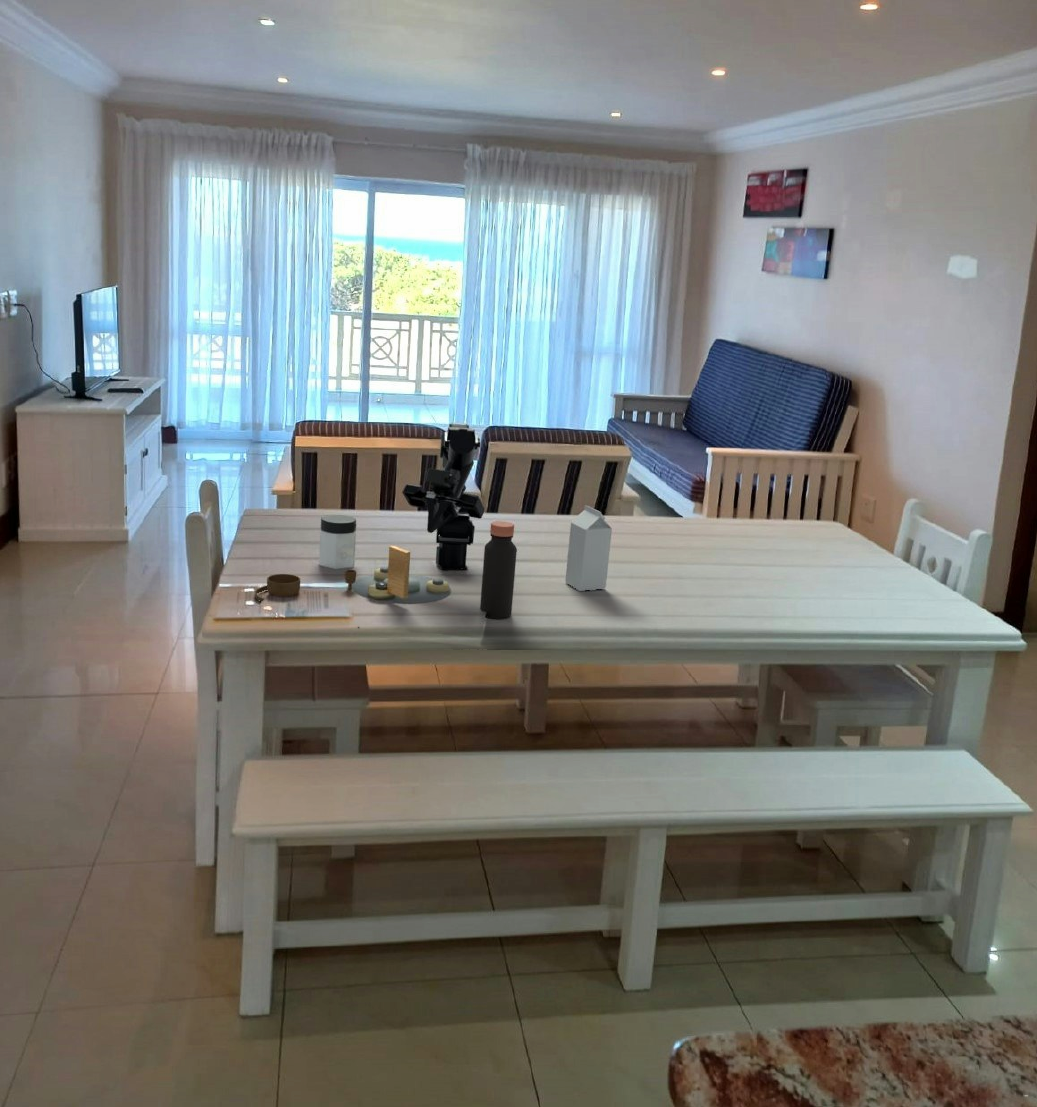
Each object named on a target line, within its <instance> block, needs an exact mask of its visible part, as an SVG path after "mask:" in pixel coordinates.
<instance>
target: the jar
mask: <svg viewBox="0 0 1037 1107" xmlns="http://www.w3.org/2000/svg"><path fill="white" fill-rule="evenodd" d="M356 533H357V519H356V517H353V516H350V515H343V514H329V515H324V516H322V517H321V519H320V532H319V557H318V558H319V560H318V564H319V566H322V567H326V568H330V569H333V570H334V569H335V570H336V569H338V570H339V569H348V568H355V562H356V560H355V559H356V558H355V557H356V538H357V534H356Z"/></svg>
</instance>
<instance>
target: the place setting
mask: <svg viewBox="0 0 1037 1107" xmlns="http://www.w3.org/2000/svg"><path fill="white" fill-rule="evenodd" d="M356 580H357V571H356V570H354V569H346V570H344V581H345V583H346V584H348V585H347V586H348V587H347V590H349V591H353V590H352V584H353V583H354V582H355V581H356ZM300 589H301V578H300V577H299V576H297V575H294V574H288V573H277V574H272V575H269V576H267V578H266V585H263V586H260V587H258V588H257V589H255V591H254V596H255V599H256V600H257V599H258V600H260V601H262V602H263V601H264V600H265V599H266V598H264V597H262V596H260V595H259V596H258V595H257V593H259V592H262V591H264V590H268V594H269V595H271V596H275V597H279V598H280V597H281V598H282V597H283V598H287V597H288V598H289V597H293V596H296V595H298V594H299V593H300ZM258 600H257V601H258ZM260 601H259V602H260Z"/></svg>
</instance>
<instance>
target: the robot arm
mask: <svg viewBox="0 0 1037 1107" xmlns="http://www.w3.org/2000/svg"><path fill="white" fill-rule="evenodd" d="M475 431H476V430H475V428H472V427H471V428H470V425H469V424H468V423H465V422H464V423H463V422H462V423H461V422H451V423H449V424H448V427H447V430H446V431H444V433H443V434H442V435H441V437H440V438H441V439H440V447H439V448H440V449H439V450H440V451H439V452H440V453H439V458H440V459H442V463H441V464H442V468H443V469H437V468H433V467H432V468H431V467H428V469H427V473H426V476H425V480H424V482H425V483H428V484H430V486H429V488H430V490H431V491H429V490H428V491H425V488H424V486H423V485H420V484H413V483H408V484H405V485H404V487H403V489H402V491H401V492H402V494H403V496H404V498H405V500H406V501H407V503H408V505H409V506H411V507H415V508H421V509H423V508H424V507H425V508H427V527H426V528H427V530H426V531H427V533H429V534H432V533H434V532H435V531H436V536H435V541H436V542H435V543H436V544H438V546H436V552H435V553H436V554H435V563H436V565H437V566H438V567H439V568H440V569H441V570H442V571H444V570H445V571H446V570H447V571H448V570H449V571H450V570H452V571H453V570H457V571H458V570H469V569H468V568H469V567H468V566H467V564H466V563H467V554H468V552H467V550H468V546H471V544H474V538H475V530H476V527H475V525H474V523H473V520H471V518H474V519H479V520H481V519H482V518H483V516H484V513H485V506H484V505H483V503H482V500H481V499H480V497H479V495H476V494H471V493H465V491H466V489H467V487H466V483H467V480H468V478H469V476H470V473H471V471H472V470H473V466H474V465H475V464H474V462H475V461H474V456H475V455H474V454H475V450H478V448H481V439H480V438H479V436H478V433H476V432H475Z"/></svg>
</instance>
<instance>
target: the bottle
mask: <svg viewBox="0 0 1037 1107" xmlns="http://www.w3.org/2000/svg"><path fill="white" fill-rule="evenodd" d="M489 533H490V537H491V538H490V540H489V541H488V542H487V543H486V544H485V545H484V550H483V566H482V578H481V579H482V580H481V592H480V604H479V606H480V607H479V609H480V611H482V612H484V613H485V618H487V619H492V620H504V618H505V619H508V618H510V617H511V615H512V613H513V601H514V600H513V599H514V587H515V578H516V577H515V576H516V575H515V574H516V562H517V553H518V552H517V550H518V548H517V546H516V545H515V544H514V542H513V540H512V539H513V538H514V533H515V524H514V523H512V522H510V521H502V520H497V521H496V520H495V521H492V522H491V523H490V532H489Z"/></svg>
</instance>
